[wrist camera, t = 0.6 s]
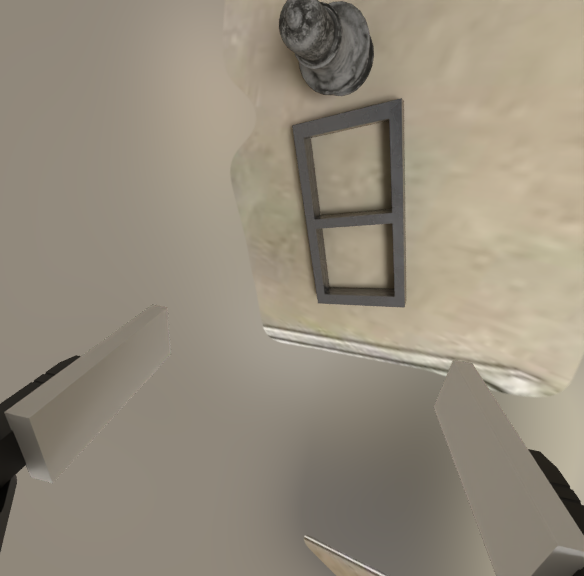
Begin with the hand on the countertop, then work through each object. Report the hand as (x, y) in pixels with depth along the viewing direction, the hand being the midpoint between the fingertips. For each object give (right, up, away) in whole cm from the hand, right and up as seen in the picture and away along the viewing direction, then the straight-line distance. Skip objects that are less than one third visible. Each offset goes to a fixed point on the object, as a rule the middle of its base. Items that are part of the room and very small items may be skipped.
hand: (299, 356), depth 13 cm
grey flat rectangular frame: (+7, +11, +18) cm, 22 cm away
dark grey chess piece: (+4, +24, +13) cm, 27 cm away
